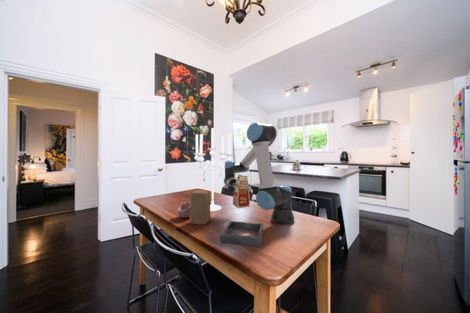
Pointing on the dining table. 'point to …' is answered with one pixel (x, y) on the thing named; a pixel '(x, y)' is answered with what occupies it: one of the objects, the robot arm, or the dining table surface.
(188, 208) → the mortar and pestle
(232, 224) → the carton holder
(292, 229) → the dining table surface
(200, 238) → the dining table surface
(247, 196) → the milk carton
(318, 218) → the dining table surface
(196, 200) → the wooden block
